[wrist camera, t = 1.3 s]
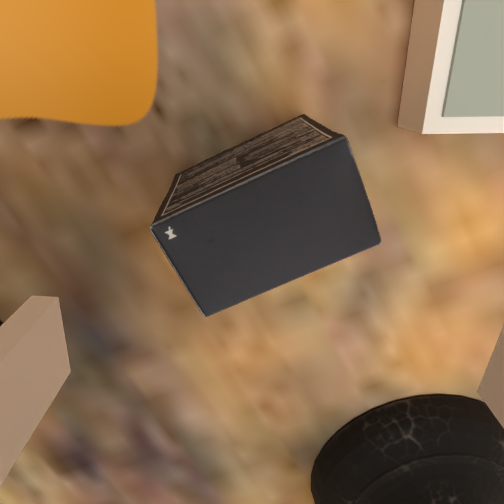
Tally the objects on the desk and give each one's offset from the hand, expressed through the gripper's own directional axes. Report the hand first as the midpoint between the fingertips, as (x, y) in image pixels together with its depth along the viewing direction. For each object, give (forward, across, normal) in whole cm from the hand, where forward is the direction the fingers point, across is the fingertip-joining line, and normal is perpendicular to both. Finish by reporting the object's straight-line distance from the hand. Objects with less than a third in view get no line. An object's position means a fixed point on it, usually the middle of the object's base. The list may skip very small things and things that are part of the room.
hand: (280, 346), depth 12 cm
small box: (+19, +1, 0) cm, 19 cm away
